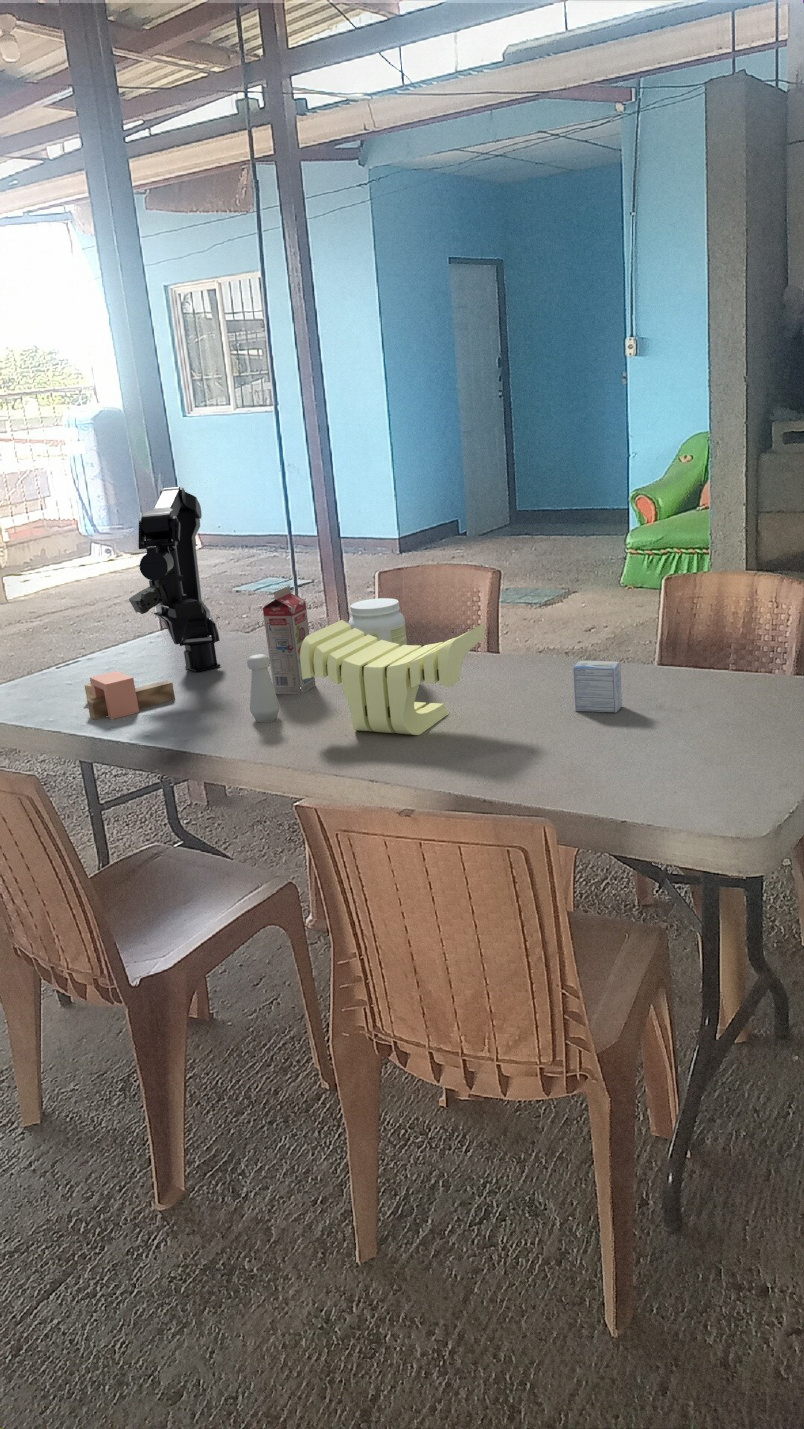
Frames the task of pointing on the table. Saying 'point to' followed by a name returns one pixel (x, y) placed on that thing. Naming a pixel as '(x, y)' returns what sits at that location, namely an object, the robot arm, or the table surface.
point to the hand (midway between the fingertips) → (177, 644)
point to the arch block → (116, 693)
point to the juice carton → (286, 641)
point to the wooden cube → (88, 691)
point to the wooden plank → (144, 698)
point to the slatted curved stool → (385, 675)
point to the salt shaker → (262, 690)
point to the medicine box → (597, 686)
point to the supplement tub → (379, 619)
